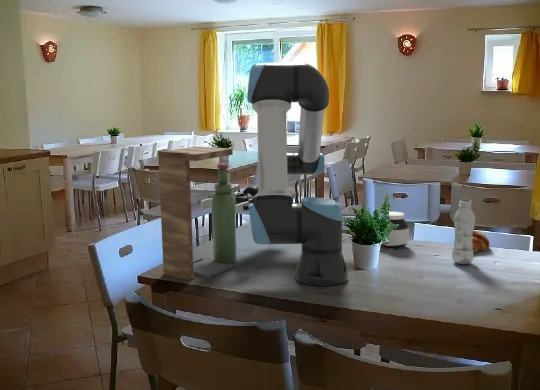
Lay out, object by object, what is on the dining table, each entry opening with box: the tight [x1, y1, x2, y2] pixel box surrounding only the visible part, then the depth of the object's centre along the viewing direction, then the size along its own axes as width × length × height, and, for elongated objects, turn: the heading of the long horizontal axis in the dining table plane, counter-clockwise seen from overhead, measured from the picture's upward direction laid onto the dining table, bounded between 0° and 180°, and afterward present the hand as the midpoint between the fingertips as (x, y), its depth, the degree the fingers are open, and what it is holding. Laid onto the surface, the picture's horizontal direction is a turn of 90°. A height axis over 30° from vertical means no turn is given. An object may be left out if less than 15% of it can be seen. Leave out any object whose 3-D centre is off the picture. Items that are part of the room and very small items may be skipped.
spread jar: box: [380, 211, 410, 250], centre depth 204 cm, size 12×11×12 cm
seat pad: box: [193, 257, 234, 279], centre depth 182 cm, size 12×13×1 cm
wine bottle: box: [211, 163, 238, 265], centre depth 188 cm, size 7×7×31 cm
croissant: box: [472, 229, 490, 254], centre depth 202 cm, size 21×10×8 cm, turn 144°
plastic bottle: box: [451, 199, 476, 265], centre depth 183 cm, size 6×7×20 cm
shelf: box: [157, 146, 234, 281], centre depth 177 cm, size 17×14×37 cm
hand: (218, 207), depth 185 cm, fingers open, 13 cm apart
